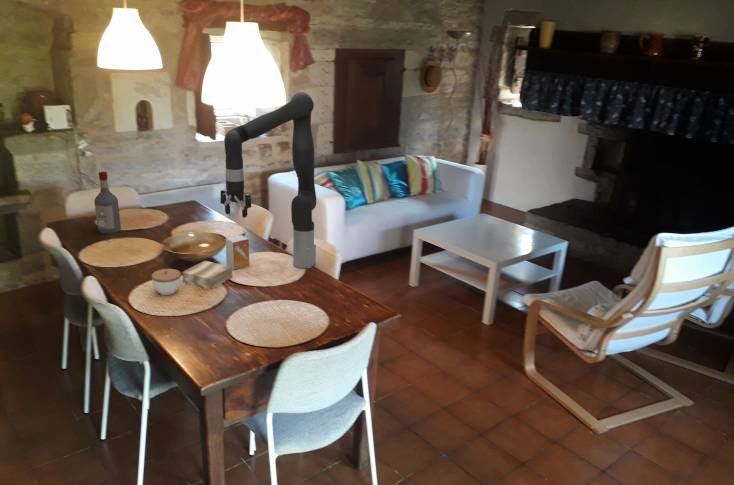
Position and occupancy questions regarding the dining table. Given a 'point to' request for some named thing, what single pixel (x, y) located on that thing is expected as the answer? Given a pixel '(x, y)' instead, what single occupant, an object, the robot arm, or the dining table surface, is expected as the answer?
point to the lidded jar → (166, 281)
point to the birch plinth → (207, 274)
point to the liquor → (107, 208)
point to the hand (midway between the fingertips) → (236, 215)
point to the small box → (237, 252)
